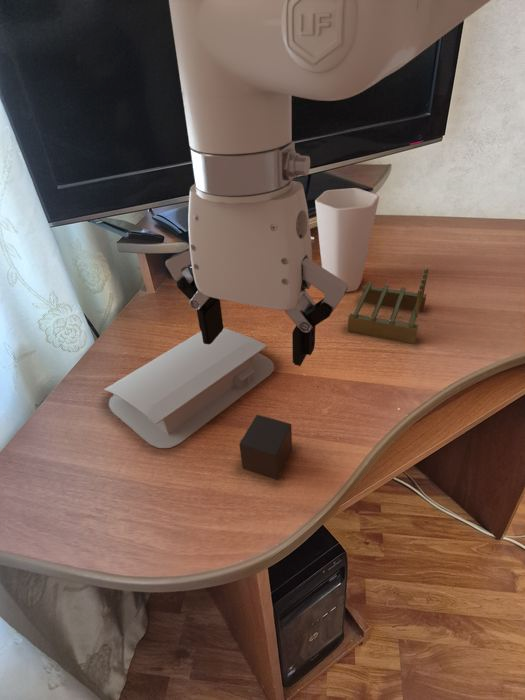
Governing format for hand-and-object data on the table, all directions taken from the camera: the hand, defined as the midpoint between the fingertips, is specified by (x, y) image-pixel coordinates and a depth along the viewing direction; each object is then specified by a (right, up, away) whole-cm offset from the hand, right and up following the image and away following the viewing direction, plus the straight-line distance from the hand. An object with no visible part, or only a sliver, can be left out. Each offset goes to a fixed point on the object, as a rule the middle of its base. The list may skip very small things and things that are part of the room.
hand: (256, 346), depth 44 cm
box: (+1, -14, +10) cm, 17 cm away
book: (-10, -6, +23) cm, 25 cm away
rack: (+22, +5, +33) cm, 40 cm away
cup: (+17, +13, +44) cm, 48 cm away
